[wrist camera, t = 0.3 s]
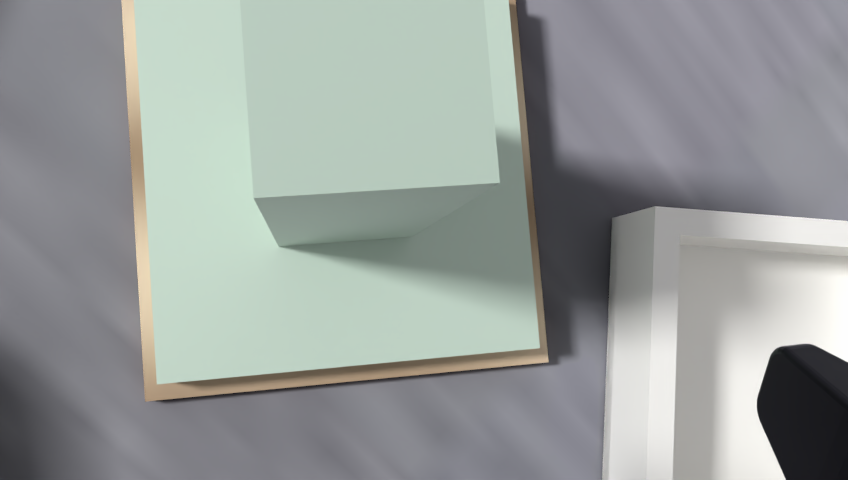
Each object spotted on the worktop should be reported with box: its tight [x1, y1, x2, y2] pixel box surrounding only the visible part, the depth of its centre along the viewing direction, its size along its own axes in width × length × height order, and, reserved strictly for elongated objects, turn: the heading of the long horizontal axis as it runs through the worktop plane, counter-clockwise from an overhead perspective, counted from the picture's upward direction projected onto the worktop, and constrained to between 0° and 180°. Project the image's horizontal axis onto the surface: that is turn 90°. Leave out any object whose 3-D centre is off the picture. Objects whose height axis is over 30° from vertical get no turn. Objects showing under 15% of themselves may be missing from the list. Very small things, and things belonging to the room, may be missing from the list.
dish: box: [602, 206, 848, 480], centre depth 23 cm, size 9×9×3 cm
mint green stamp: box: [134, 0, 540, 384], centre depth 17 cm, size 10×10×11 cm
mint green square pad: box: [122, 0, 549, 402], centre depth 23 cm, size 11×11×1 cm
